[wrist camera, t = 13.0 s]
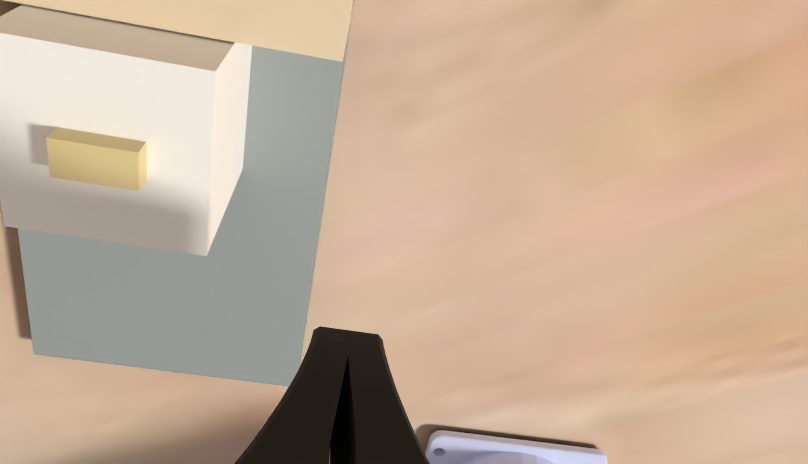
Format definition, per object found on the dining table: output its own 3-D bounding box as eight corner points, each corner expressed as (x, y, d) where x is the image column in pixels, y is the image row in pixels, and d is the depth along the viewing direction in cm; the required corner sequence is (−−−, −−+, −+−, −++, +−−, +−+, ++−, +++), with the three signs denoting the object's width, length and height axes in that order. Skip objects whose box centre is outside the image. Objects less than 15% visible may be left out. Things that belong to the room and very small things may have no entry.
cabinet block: (242, 168, 22) (201, 269, 17) (81, 142, 21) (-8, 238, 16) (254, 13, 19) (209, 80, 14) (71, -22, 19) (-38, 36, 14)
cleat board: (298, 373, 28) (285, 447, 24) (42, 340, 26) (-6, 413, 23) (358, -35, 19) (352, -4, 16) (-10, -108, 18) (-97, -90, 15)
